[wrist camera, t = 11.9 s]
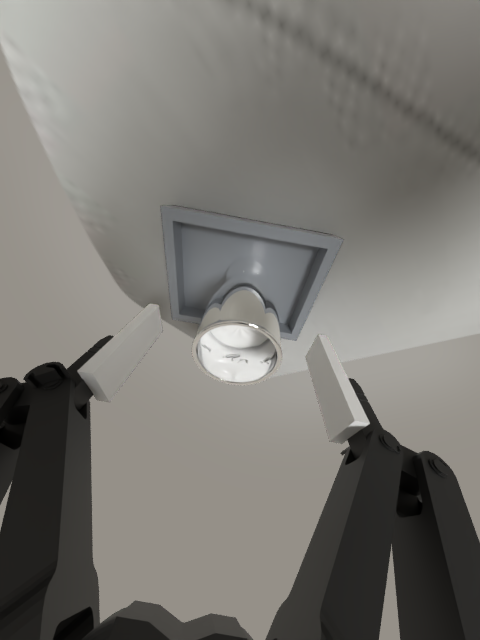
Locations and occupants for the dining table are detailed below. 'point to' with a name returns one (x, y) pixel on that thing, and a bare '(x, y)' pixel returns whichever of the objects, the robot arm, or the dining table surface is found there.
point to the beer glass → (240, 329)
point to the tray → (243, 243)
